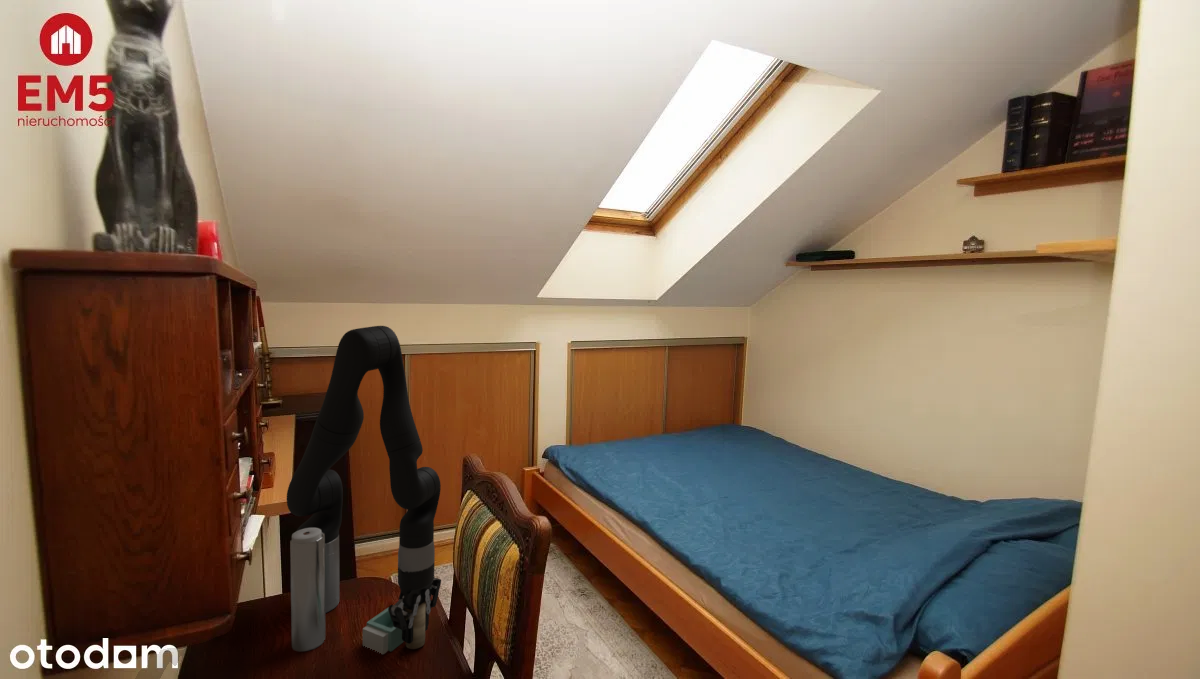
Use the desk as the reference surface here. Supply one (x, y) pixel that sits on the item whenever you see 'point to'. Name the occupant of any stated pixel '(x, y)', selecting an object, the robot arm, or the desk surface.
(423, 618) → the dowel
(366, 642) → the grey flat slab
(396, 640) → the grey-green open box
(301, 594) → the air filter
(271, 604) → the desk surface
